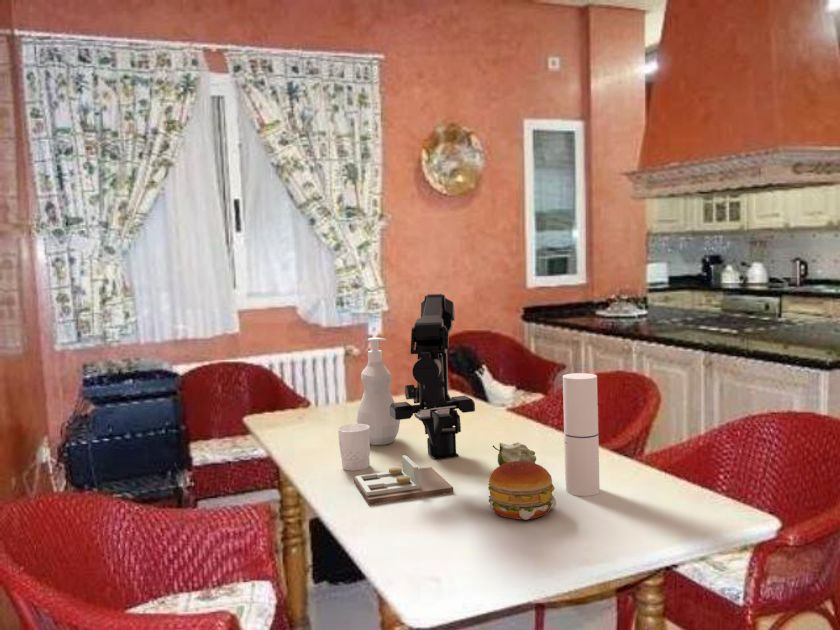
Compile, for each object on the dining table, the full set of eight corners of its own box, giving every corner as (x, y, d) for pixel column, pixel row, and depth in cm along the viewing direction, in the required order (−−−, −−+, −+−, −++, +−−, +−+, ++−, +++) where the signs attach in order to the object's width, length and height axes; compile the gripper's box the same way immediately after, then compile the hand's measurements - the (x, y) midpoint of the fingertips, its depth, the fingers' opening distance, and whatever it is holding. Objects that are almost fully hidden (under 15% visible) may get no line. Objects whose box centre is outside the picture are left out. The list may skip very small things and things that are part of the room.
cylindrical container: (580, 498, 149) (577, 380, 147) (558, 489, 155) (555, 375, 153) (606, 491, 152) (604, 376, 150) (584, 483, 158) (581, 371, 156)
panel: (405, 472, 167) (404, 454, 167) (420, 488, 156) (419, 468, 155) (355, 479, 164) (354, 460, 163) (366, 495, 152) (365, 475, 152)
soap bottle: (409, 445, 195) (404, 339, 193) (369, 451, 191) (363, 343, 189) (388, 432, 211) (383, 333, 208) (351, 437, 207) (345, 337, 204)
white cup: (366, 472, 173) (364, 431, 172) (335, 471, 175) (333, 431, 174) (375, 462, 181) (373, 423, 180) (345, 461, 183) (343, 423, 182)
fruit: (491, 479, 168) (486, 444, 169) (512, 472, 175) (508, 439, 176) (524, 478, 162) (519, 442, 163) (545, 471, 169) (540, 437, 170)
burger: (486, 501, 150) (484, 454, 149) (551, 499, 149) (549, 452, 149) (490, 525, 137) (488, 474, 136) (561, 523, 136) (560, 472, 135)
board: (431, 472, 171) (430, 458, 171) (453, 492, 156) (452, 477, 155) (353, 482, 166) (352, 468, 165) (368, 505, 150) (367, 489, 150)
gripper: (457, 368, 171) (460, 432, 172) (382, 375, 166) (385, 441, 167) (474, 375, 160) (477, 443, 162) (394, 382, 155) (397, 453, 156)
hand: (433, 444), depth 162 cm, fingers closed
